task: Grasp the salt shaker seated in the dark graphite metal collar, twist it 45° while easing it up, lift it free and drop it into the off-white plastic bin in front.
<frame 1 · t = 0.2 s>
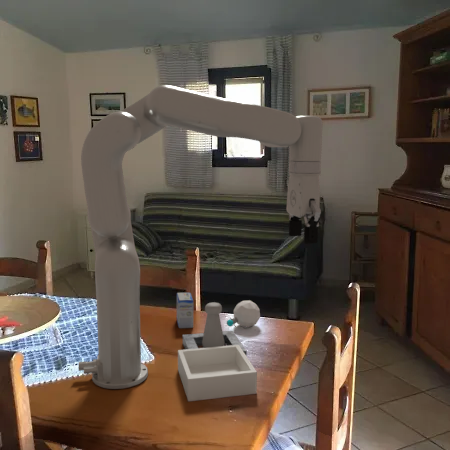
hand: (302, 239, 118), 31 cm above the table, fingers open, 9 cm apart
bin: (215, 381, 111), on the table
perfume bottle: (241, 328, 144), on the table
collar block: (213, 351, 127), on the table
medicine box: (184, 324, 147), on the table
salt shaker: (213, 352, 127), resting in collar block
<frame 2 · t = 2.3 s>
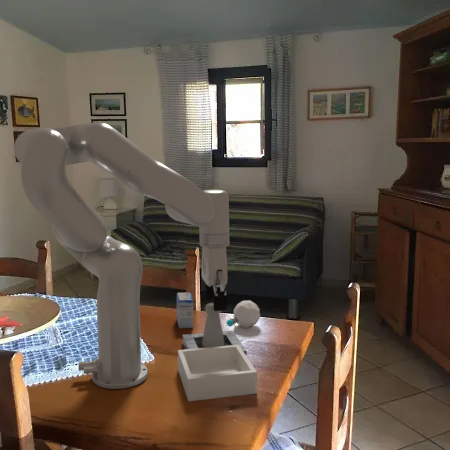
hand: (215, 304, 125), 13 cm above the table, fingers open, 9 cm apart
nothing on the table moved.
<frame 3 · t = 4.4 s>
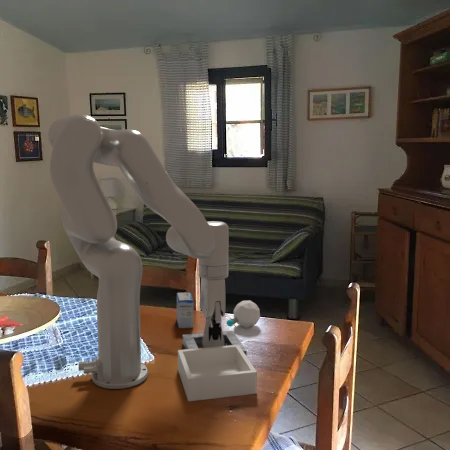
hand: (213, 338, 126), 4 cm above the table, fingers closed on salt shaker, 3 cm apart
salt shaker: (213, 352, 127), resting in collar block, touching gripper
everything else where it was.
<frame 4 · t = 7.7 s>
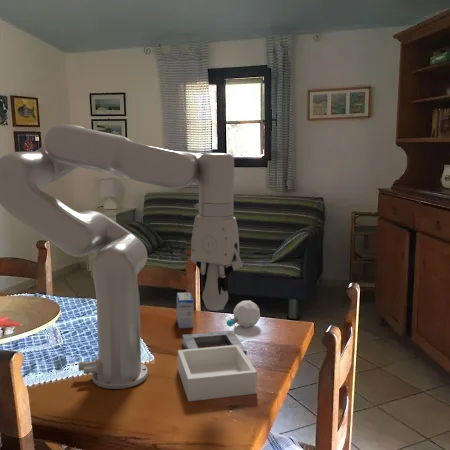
hand: (215, 291, 108), 21 cm above the table, fingers closed on salt shaker, 3 cm apart
salt shaker: (215, 308, 109), point 17 cm above the table, touching gripper
everything else where it was.
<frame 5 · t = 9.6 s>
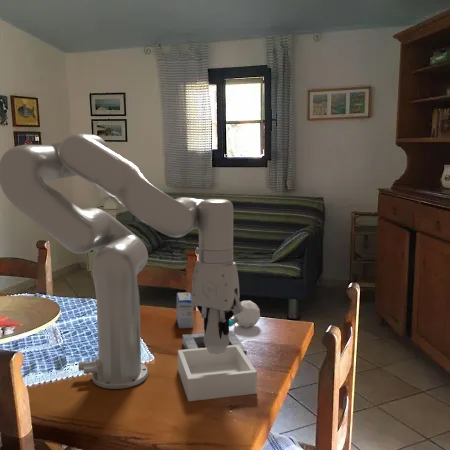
hand: (216, 334, 109), 11 cm above the table, fingers closed on salt shaker, 3 cm apart
salt shaker: (216, 351, 110), point 7 cm above the table, touching gripper
everything else where it was.
when the fingers open (6 cm above the table, at t = 11.3 s): salt shaker stays where it is, resting on bin.
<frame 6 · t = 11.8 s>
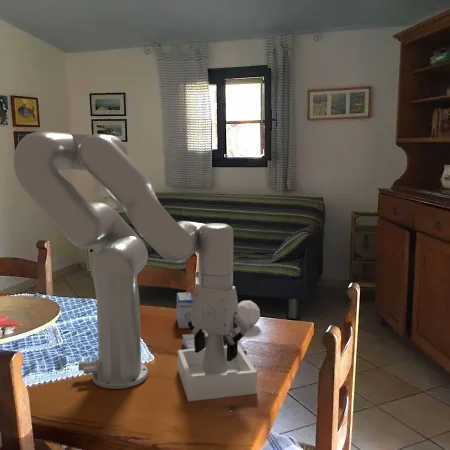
hand: (215, 354, 110), 6 cm above the table, fingers open, 8 cm apart
salt shaker: (214, 377, 111), point 1 cm above the table, touching bin
everything else where it was.
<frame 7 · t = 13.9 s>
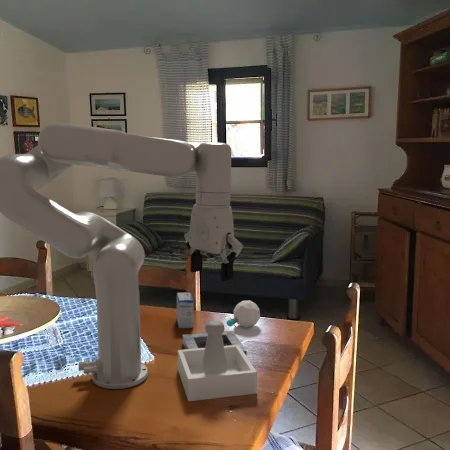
hand: (211, 275, 109), 24 cm above the table, fingers open, 9 cm apart
nothing on the table moved.
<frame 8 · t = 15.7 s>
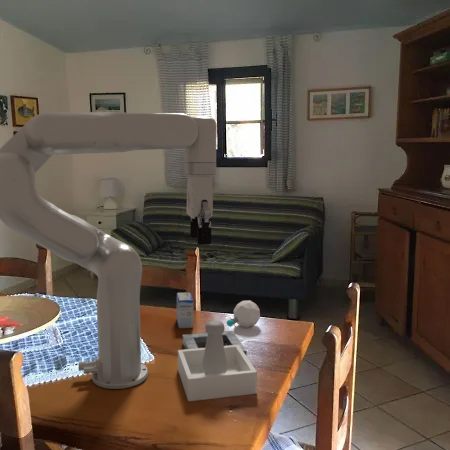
hand: (200, 240, 118), 30 cm above the table, fingers open, 9 cm apart
nothing on the table moved.
at the end: salt shaker inside the target area on the bin (0.1 cm from its centre), point 0.8 cm above the bin's base; the gripper is holding nothing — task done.
